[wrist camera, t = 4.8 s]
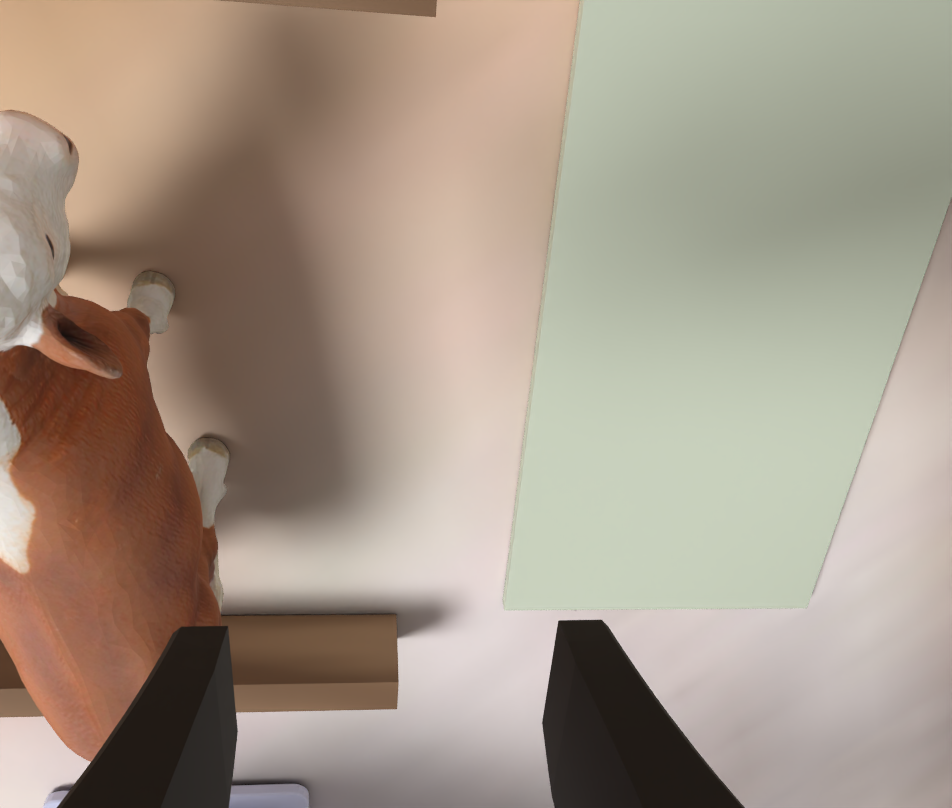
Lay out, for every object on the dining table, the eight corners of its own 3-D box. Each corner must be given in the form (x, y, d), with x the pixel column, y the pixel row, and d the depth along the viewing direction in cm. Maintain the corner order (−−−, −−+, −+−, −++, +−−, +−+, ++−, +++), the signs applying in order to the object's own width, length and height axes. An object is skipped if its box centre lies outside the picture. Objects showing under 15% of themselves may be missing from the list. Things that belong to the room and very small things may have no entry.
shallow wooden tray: (395, 640, 26) (397, 709, 24) (-128, 646, 24) (-176, 721, 22) (431, -57, 17) (439, -49, 15) (-391, -130, 15) (-517, -131, 13)
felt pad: (801, 599, 27) (806, 608, 26) (502, 600, 26) (504, 610, 25) (1019, -33, 18) (1032, -32, 18) (589, -73, 17) (593, -72, 17)
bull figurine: (177, 44, 17) (45, 152, 10) (261, 573, 24) (215, 854, 17) (-57, 48, 17) (-356, 163, 10) (94, 584, 24) (-22, 876, 17)
